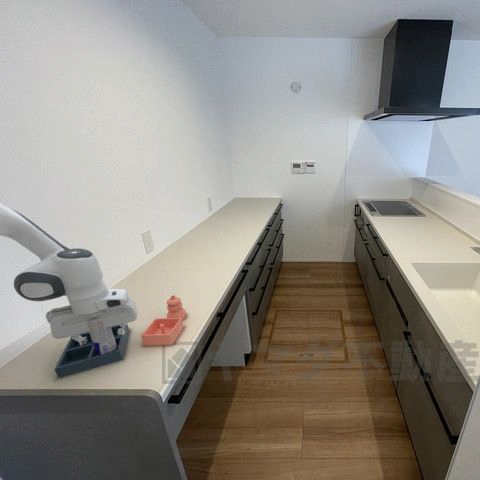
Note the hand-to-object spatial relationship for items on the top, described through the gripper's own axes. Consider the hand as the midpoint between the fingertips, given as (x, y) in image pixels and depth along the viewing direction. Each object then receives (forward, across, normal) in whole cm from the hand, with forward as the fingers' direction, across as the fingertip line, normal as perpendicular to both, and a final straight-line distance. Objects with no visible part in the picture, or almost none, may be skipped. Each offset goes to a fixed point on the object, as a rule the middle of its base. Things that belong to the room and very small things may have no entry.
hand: (103, 338), depth 82 cm
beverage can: (+6, 0, 0) cm, 6 cm away
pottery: (+7, +17, +6) cm, 20 cm away
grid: (+7, -4, +4) cm, 8 cm away
